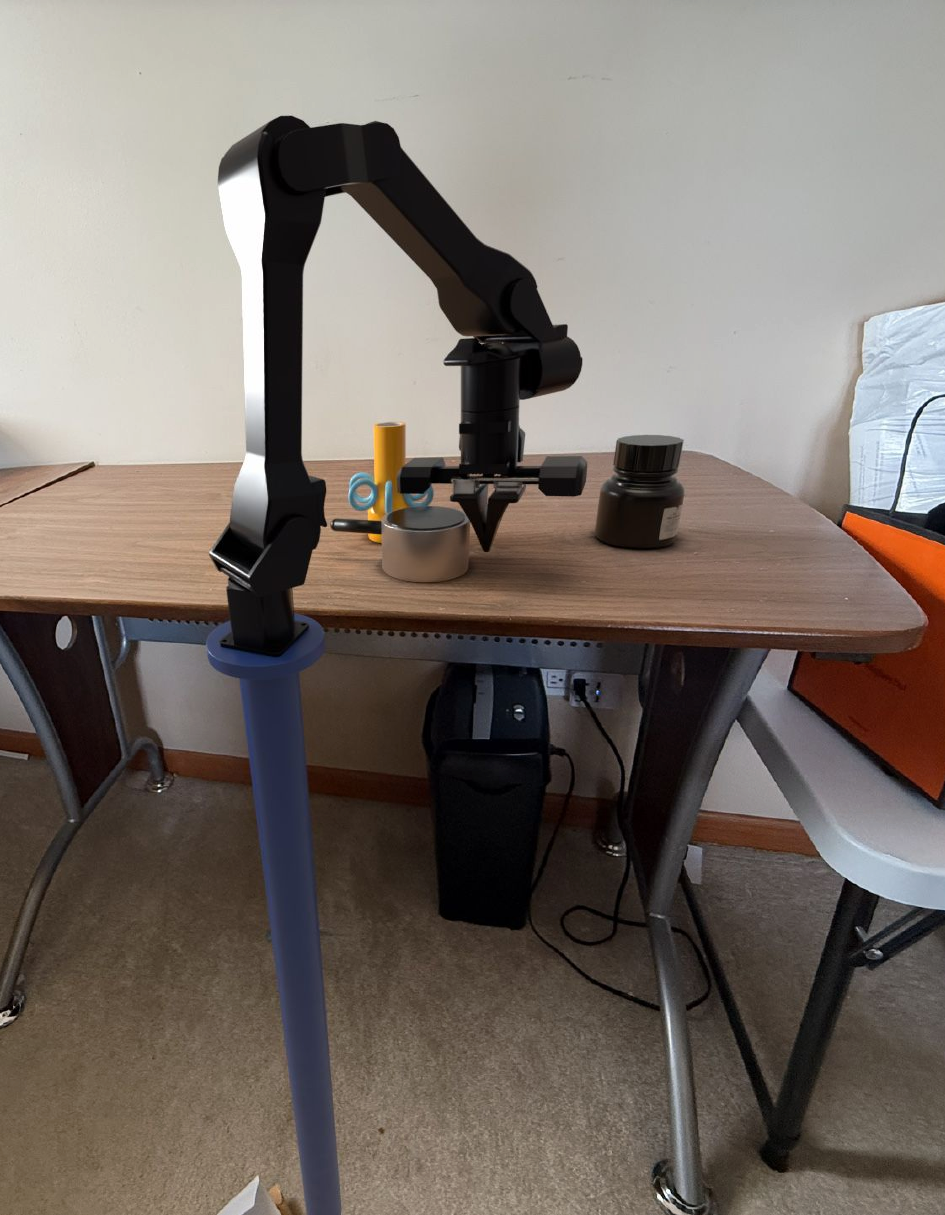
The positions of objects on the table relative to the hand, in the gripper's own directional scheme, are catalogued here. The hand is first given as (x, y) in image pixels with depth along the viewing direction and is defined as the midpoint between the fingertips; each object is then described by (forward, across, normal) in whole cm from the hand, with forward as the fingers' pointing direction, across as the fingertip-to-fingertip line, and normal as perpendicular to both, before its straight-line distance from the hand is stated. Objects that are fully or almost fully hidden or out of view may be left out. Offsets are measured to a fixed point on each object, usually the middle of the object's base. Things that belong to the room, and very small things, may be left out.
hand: (487, 551), depth 70 cm
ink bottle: (+4, -14, -16) cm, 22 cm away
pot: (+2, +11, 0) cm, 11 cm away
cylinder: (+2, +15, -9) cm, 17 cm away
